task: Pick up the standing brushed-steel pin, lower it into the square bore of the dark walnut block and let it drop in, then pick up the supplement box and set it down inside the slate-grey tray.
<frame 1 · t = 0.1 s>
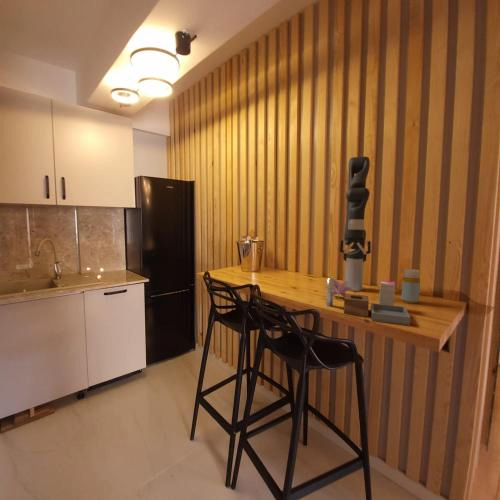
hand: (354, 261, 137), 17 cm above the breakfast bar, tool pointing down, fingers open, 8 cm apart
bore block: (355, 311, 114), on the breakfast bar
supplement box: (386, 308, 118), on the breakfast bar
bottle: (409, 302, 128), on the breakfast bar
pin gauge: (329, 305, 121), on the breakfast bar
tray: (388, 317, 107), on the breakfast bar
lily: (338, 298, 133), on the breakfast bar
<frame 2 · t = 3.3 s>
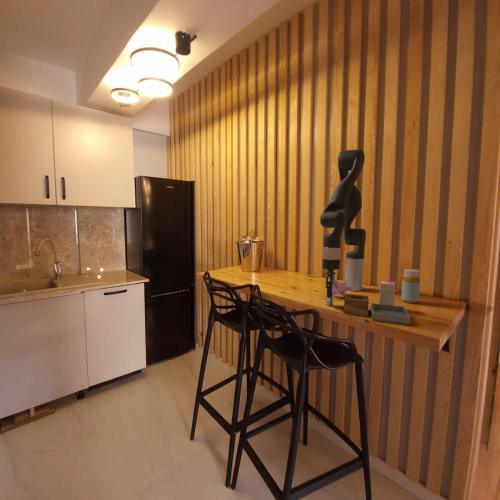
hand: (329, 296, 121), 4 cm above the breakfast bar, tool pointing down, fingers closed on pin gauge, 2 cm apart
pin gauge: (329, 305, 121), on the breakfast bar, touching gripper
everything else where it was.
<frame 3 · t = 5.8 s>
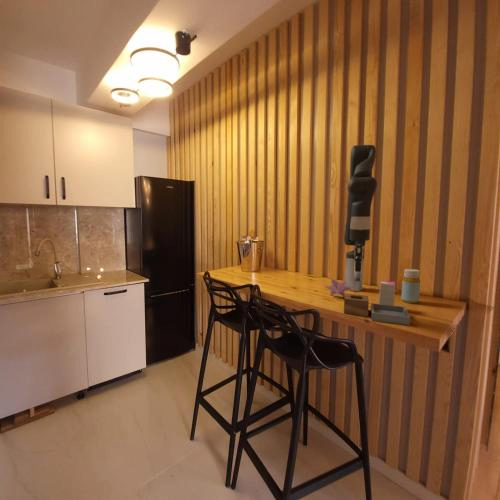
hand: (357, 270, 112), 17 cm above the breakfast bar, tool pointing down, fingers closed on pin gauge, 2 cm apart
pin gauge: (357, 280, 112), point 13 cm above the breakfast bar, touching gripper
everything else where it was.
when the fingers open (7 cm above the breakfast bar, at t = 8.2 s): pin gauge drops 3 cm, resting in bore block.
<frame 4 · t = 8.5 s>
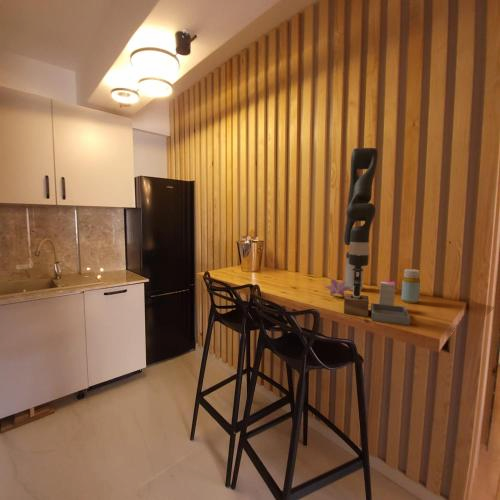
hand: (356, 293, 113), 8 cm above the breakfast bar, tool pointing down, fingers open, 5 cm apart
pin gauge: (355, 311, 114), resting in bore block
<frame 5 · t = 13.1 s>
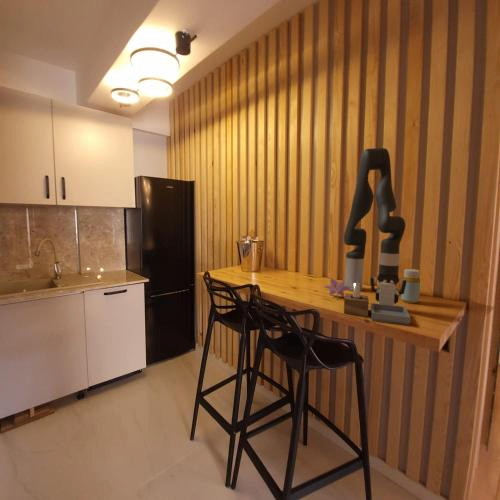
hand: (386, 302, 118), 3 cm above the breakfast bar, tool pointing down, fingers closed on supplement box, 6 cm apart
supplement box: (386, 308, 118), on the breakfast bar, touching gripper
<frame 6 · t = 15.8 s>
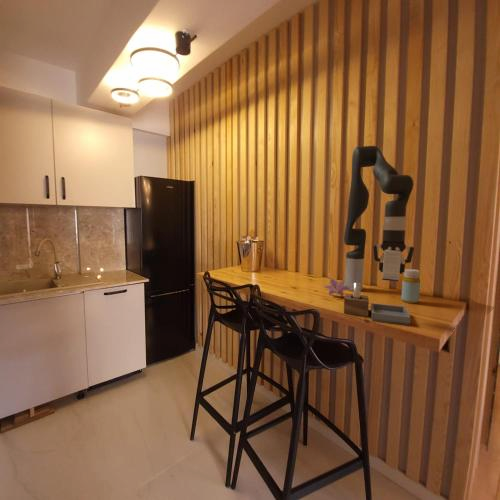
hand: (391, 272, 105), 18 cm above the breakfast bar, tool pointing down, fingers closed on supplement box, 6 cm apart
supplement box: (390, 280, 106), point 15 cm above the breakfast bar, touching gripper
when the fingers open (5 cm above the breakfast bar, at t = 18.5 s): supplement box drops 1 cm, resting on tray.
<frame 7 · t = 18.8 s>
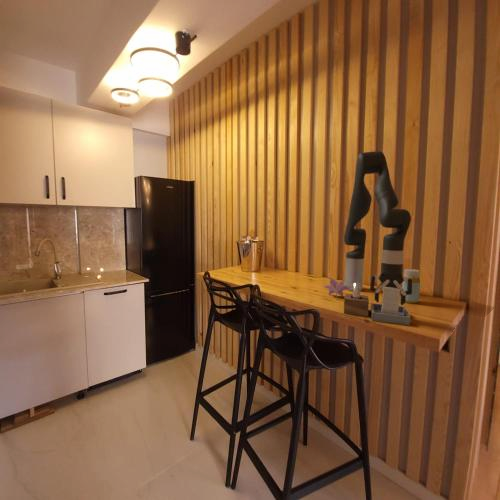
hand: (389, 303, 107), 6 cm above the breakfast bar, tool pointing down, fingers open, 8 cm apart
supplement box: (389, 315, 107), point 1 cm above the breakfast bar, touching tray
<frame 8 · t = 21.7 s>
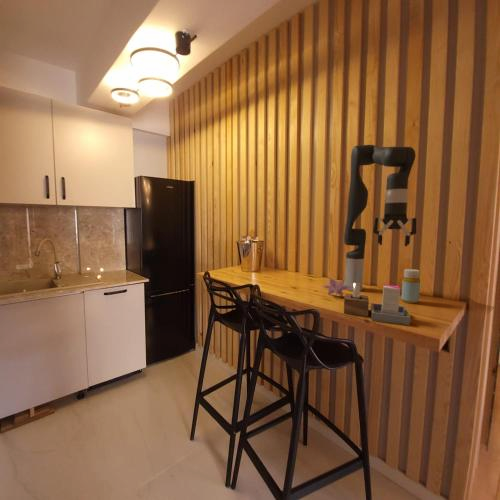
hand: (393, 245, 104), 28 cm above the breakfast bar, tool pointing down, fingers open, 8 cm apart
at the end: pin gauge 0.0 cm off-centre on the bore block, point 0.0 cm above the bore block's base; supplement box inside the target area on the tray (0.3 cm from its centre), point 0.6 cm above the tray's base; supplement box tilted 0° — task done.
